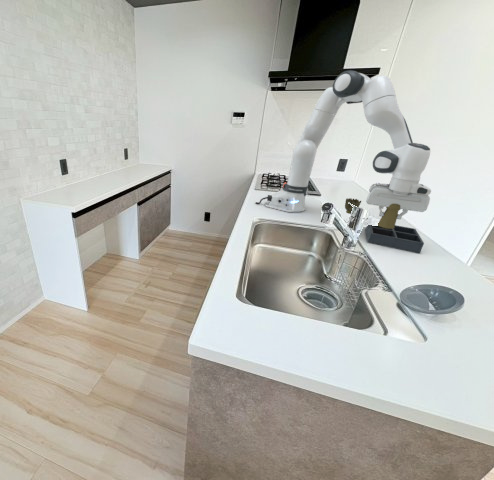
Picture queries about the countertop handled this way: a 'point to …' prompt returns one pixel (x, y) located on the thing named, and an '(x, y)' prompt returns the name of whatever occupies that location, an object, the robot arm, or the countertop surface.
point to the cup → (348, 206)
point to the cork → (389, 217)
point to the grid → (395, 237)
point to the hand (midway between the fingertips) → (389, 217)
